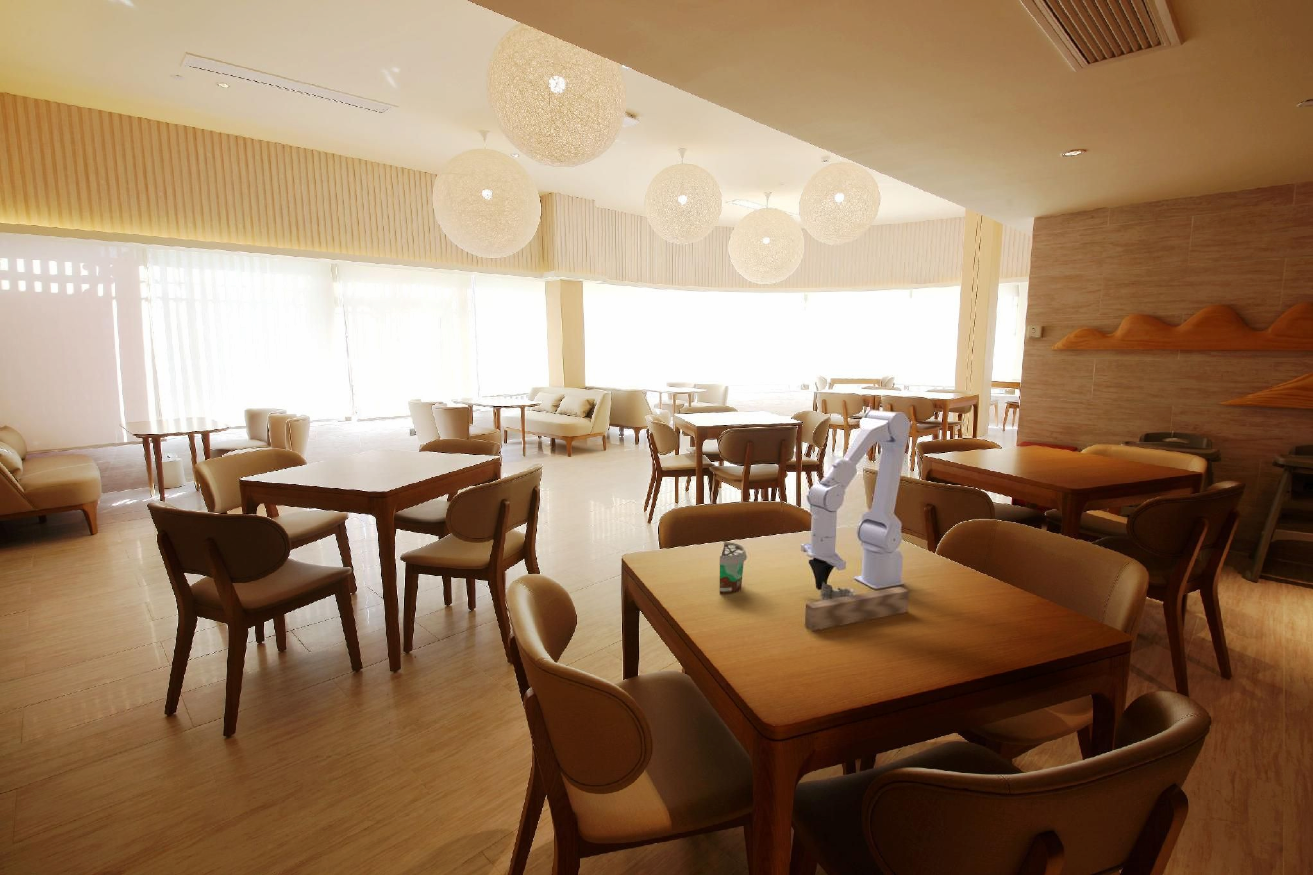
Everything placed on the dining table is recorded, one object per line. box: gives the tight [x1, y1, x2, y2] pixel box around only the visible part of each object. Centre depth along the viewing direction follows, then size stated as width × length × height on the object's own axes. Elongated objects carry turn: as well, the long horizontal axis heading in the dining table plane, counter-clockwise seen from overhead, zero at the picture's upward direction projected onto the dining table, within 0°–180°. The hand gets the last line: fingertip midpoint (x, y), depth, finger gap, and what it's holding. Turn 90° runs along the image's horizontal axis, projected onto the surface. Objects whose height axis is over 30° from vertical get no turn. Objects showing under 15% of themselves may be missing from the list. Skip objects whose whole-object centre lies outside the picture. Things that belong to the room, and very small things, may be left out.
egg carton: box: [819, 582, 856, 601], centre depth 136 cm, size 11×8×4 cm
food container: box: [719, 541, 748, 595], centre depth 147 cm, size 12×6×10 cm, turn 168°
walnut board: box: [804, 586, 910, 632], centre depth 130 cm, size 26×2×5 cm, turn 111°
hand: (821, 588), depth 142 cm, fingers closed
